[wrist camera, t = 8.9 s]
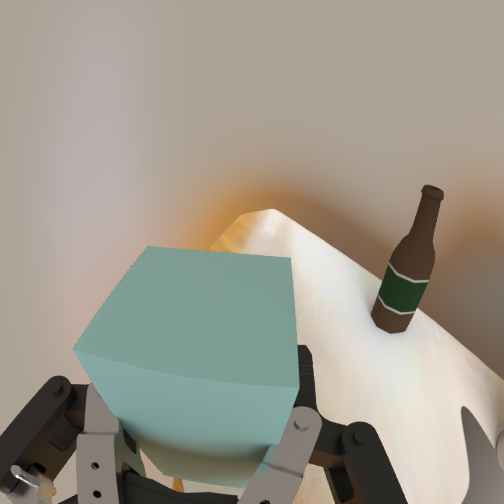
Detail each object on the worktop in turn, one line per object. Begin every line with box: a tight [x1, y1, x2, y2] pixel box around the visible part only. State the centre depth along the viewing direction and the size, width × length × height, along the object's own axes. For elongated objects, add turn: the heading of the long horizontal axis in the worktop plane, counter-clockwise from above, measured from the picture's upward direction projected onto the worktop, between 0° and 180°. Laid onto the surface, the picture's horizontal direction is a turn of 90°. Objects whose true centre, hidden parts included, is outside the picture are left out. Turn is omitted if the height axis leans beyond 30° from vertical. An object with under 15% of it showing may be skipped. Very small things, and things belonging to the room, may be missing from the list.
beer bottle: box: [371, 185, 444, 334], centre depth 37 cm, size 8×8×24 cm
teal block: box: [73, 246, 300, 488], centre depth 10 cm, size 5×5×11 cm
